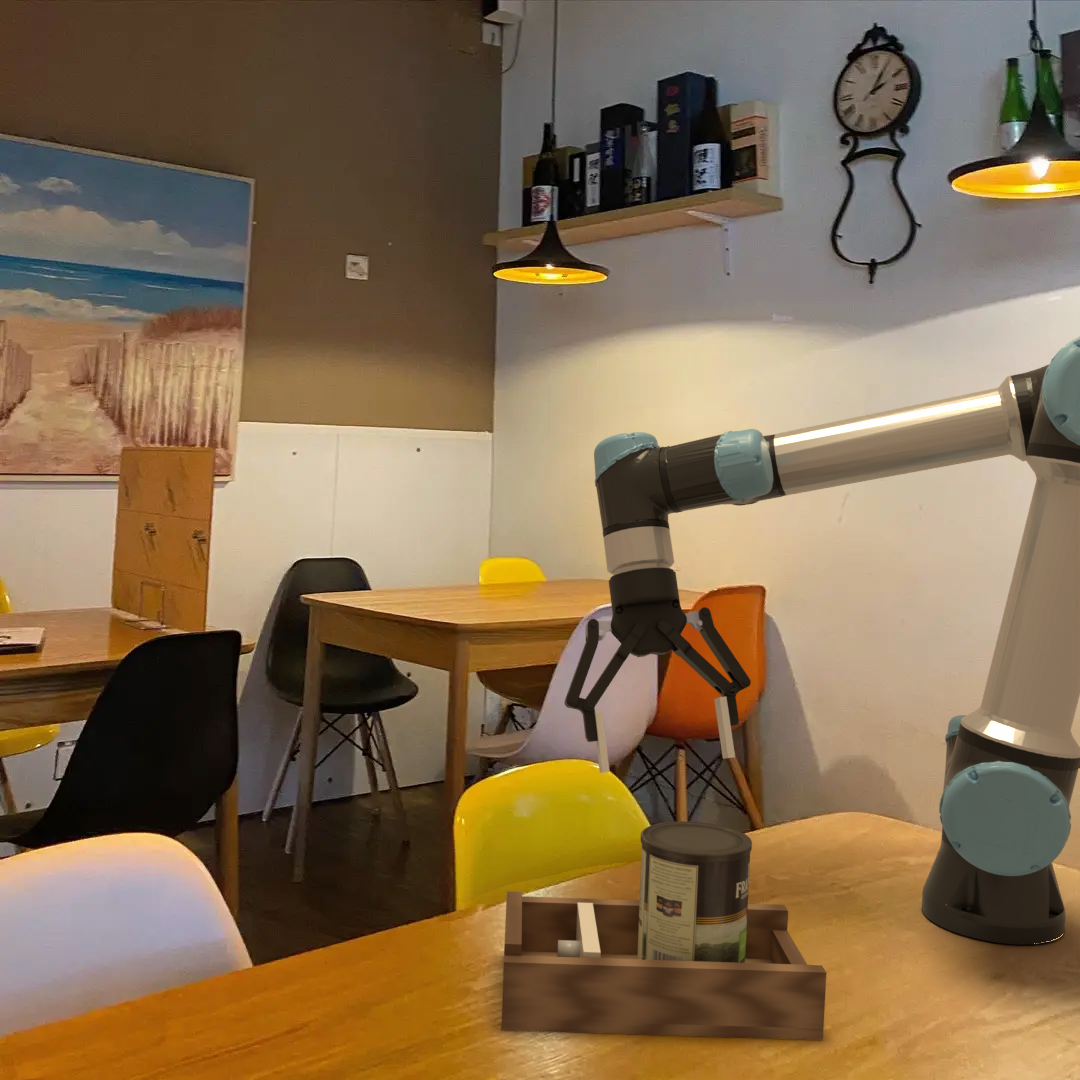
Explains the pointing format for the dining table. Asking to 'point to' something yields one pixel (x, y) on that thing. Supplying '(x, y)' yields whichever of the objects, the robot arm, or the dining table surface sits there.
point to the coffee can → (693, 893)
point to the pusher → (582, 936)
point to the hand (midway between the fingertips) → (667, 765)
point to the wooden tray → (653, 978)
